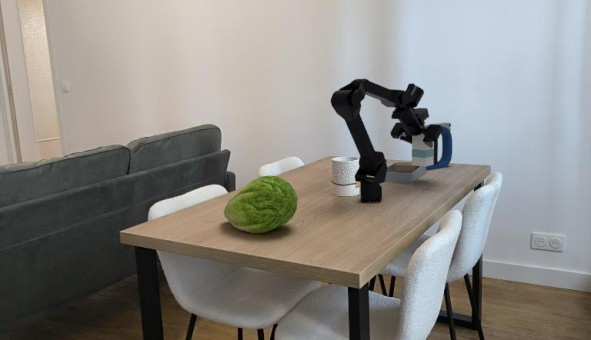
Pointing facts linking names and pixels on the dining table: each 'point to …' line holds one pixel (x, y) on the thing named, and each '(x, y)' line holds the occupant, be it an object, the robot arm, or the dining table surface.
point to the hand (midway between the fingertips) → (424, 146)
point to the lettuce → (262, 205)
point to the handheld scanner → (445, 148)
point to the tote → (403, 174)
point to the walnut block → (405, 167)
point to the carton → (421, 152)
